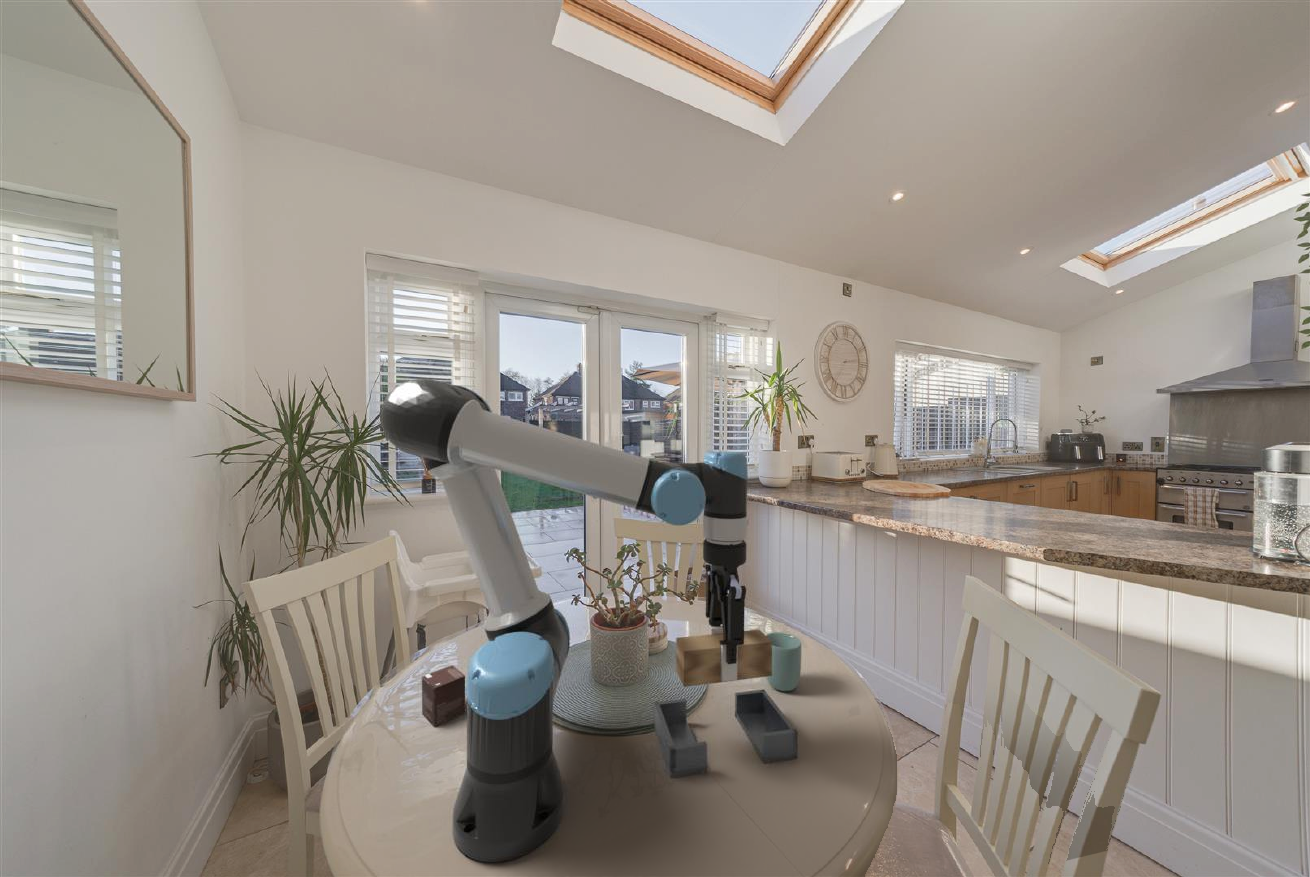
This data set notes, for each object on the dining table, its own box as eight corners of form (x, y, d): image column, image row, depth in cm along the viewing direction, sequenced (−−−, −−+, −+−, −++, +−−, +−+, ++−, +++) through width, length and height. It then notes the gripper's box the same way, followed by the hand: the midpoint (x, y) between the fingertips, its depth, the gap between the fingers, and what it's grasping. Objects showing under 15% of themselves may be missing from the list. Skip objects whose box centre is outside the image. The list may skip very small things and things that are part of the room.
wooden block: (683, 686, 75) (684, 651, 75) (676, 671, 80) (676, 637, 79) (771, 676, 78) (772, 642, 78) (759, 661, 83) (759, 629, 83)
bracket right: (763, 712, 87) (764, 689, 87) (797, 758, 75) (797, 731, 75) (734, 716, 86) (735, 692, 86) (764, 763, 74) (764, 736, 74)
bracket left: (670, 778, 71) (670, 750, 70) (653, 726, 83) (654, 702, 83) (706, 772, 72) (707, 744, 72) (685, 722, 84) (685, 698, 84)
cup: (803, 698, 92) (803, 650, 92) (764, 694, 94) (764, 646, 93) (798, 678, 100) (799, 634, 100) (762, 674, 101) (763, 630, 101)
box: (466, 713, 86) (466, 675, 86) (433, 728, 82) (433, 688, 82) (452, 700, 90) (452, 664, 90) (421, 713, 86) (421, 676, 86)
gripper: (767, 552, 70) (765, 698, 71) (726, 527, 88) (724, 645, 88) (722, 554, 69) (720, 703, 69) (689, 529, 86) (687, 648, 87)
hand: (722, 670), depth 79 cm, fingers closed on wooden block, 5 cm apart
